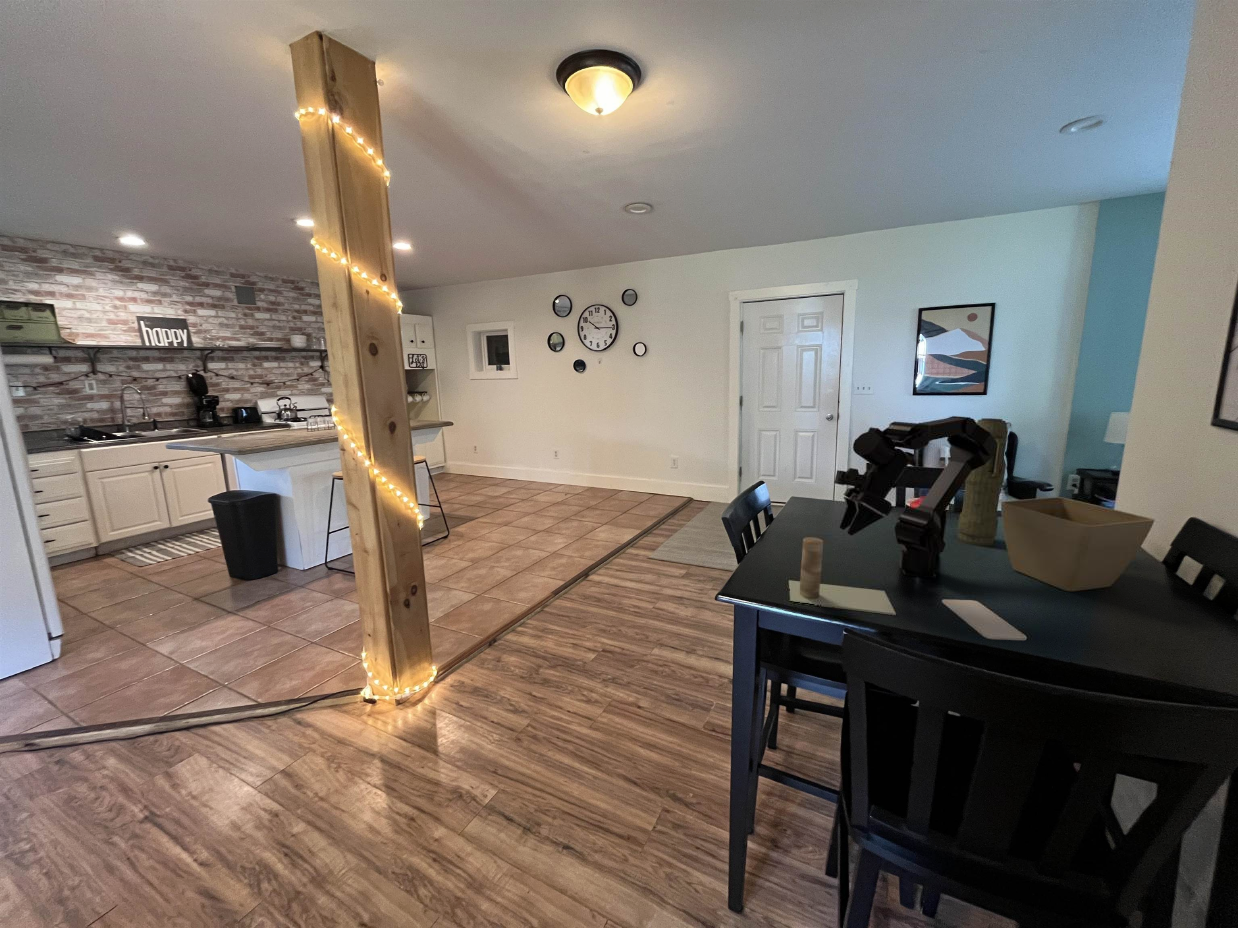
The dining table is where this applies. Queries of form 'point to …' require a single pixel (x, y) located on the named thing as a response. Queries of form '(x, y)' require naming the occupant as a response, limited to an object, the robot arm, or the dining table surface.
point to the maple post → (811, 567)
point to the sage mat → (845, 598)
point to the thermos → (984, 491)
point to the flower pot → (1071, 541)
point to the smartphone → (984, 620)
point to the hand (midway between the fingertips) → (845, 531)
